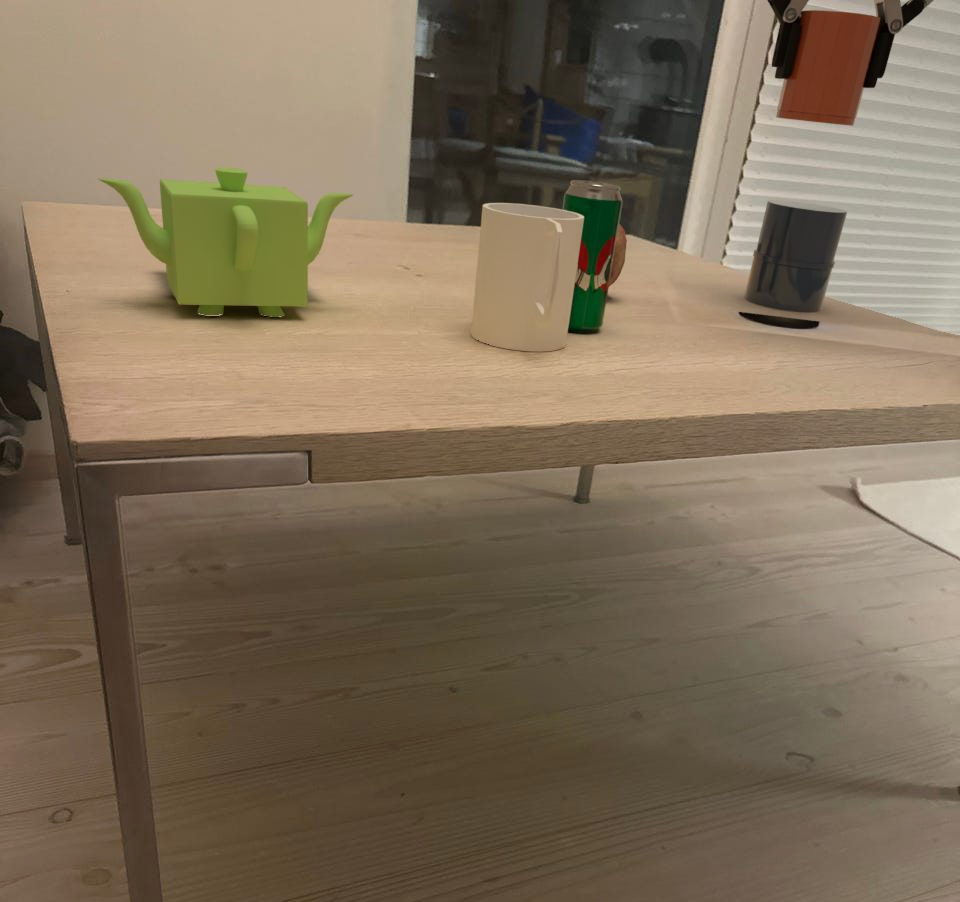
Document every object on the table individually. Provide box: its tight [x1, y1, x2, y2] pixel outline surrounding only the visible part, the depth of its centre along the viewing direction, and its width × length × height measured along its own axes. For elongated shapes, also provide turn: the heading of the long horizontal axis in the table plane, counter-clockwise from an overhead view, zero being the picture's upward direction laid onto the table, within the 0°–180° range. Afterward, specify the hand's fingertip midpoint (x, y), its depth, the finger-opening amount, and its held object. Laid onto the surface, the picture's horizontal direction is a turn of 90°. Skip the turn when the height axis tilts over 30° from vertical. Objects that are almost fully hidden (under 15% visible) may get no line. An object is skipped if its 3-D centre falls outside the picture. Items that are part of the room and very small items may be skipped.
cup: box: [470, 202, 584, 353], centre depth 75 cm, size 8×12×10 cm
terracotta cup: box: [775, 9, 882, 127], centre depth 81 cm, size 7×7×8 cm
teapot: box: [97, 167, 354, 317], centre depth 76 cm, size 15×13×11 cm
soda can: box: [561, 179, 624, 334], centre depth 82 cm, size 5×5×12 cm
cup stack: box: [738, 199, 848, 330], centre depth 95 cm, size 8×8×11 cm
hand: (824, 81), depth 82 cm, fingers closed on terracotta cup, 6 cm apart
